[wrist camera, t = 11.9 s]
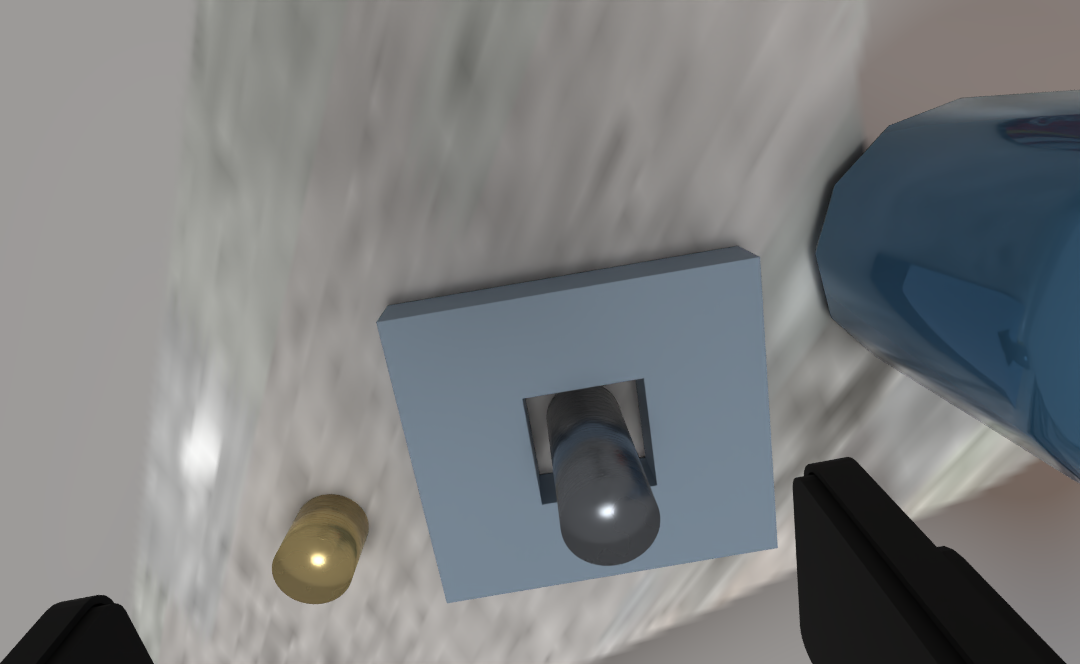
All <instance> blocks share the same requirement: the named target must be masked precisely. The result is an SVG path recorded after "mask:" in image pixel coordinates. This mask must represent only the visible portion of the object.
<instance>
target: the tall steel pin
mask: <svg viewBox="0 0 1080 664" xmlns="http://www.w3.org/2000/svg"><path fill="white" fill-rule="evenodd" d="M547 426H548V434H549V442H550V450H551V458H552V466H553V474H554V481H555V489H556V497H557V505H558V513H559V521H560V529H561V534H562V538H563V540H564V542H565V544H566V546H567V547H568V548H569V550H570V551H571V552H572V553H573V554H574V555H576V556H577V557H578V558H580V559H582V560H584V561H586V562H588V563H591V564H595V565H601V566H614V565H620V564H624V563H627V562H629V561H632V560H634V559H636V558H637V557H639V556H640V555H642V554H643V553H644V552H645V551H646V550H647V549H648V548H649V547H650V546H651V545H652V543H653V542H654V540H655V539H656V537H657V534H658V532H659V528H660V512H659V508H658V505H657V503H656V500H655V497H654V495H653V492H652V490H651V487H650V485H649V482H648V480H647V477H646V475H645V472H644V469H643V467H642V464H641V462H640V459H639V457H638V454H637V452H636V449H635V446H634V444H633V441H632V439H631V436H630V434H629V431H628V429H627V426H626V424H625V421H624V418H623V416H622V413H621V411H620V408H619V406H618V403H617V401H616V399H615V398H614V396H613V395H612V394H611V393H610V392H609V391H608V390H606V389H605V388H603V387H601V386H595V387H589V388H583V389H577V390H571V391H565V392H559V393H557V394H556V396H555V397H554V398H553V399H552V401H551V403H550V405H549V407H548V411H547Z"/></svg>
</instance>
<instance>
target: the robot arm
mask: <svg viewBox="0 0 1080 664" xmlns="http://www.w3.org/2000/svg"><path fill="white" fill-rule="evenodd" d="M793 502H794V521H795V539H796V558H797V577H798V595H799V614H800V629H801V635H802V639H803V642H804V646H805V648H806V651H807V653H808V656H809V658H810V660H811V662H812V663H813V664H1066V663H1065V662H1064V661H1063V660H1062V659H1061V658H1060V657H1059V656H1058V655H1057V654H1056V653H1055V652H1054V651H1053V650H1052V648H1050V646H1049V645H1048V644H1047V643H1046V642H1045V641H1044V640H1043V639H1042V638H1041V637H1040V636H1039V635H1038V634H1037V633H1036V632H1035V631H1034V630H1033V629H1032V628H1031V627H1030V626H1029V625H1028V624H1027V623H1026V622H1025V621H1024V620H1023V619H1022V618H1021V617H1020V616H1019V615H1018V614H1017V613H1016V612H1015V610H1013V608H1012V607H1011V606H1010V605H1009V604H1008V603H1007V602H1006V601H1005V600H1004V599H1003V598H1002V597H1001V596H1000V595H999V594H998V593H997V592H996V591H995V590H994V589H993V588H992V587H991V586H990V585H989V584H988V583H987V582H986V581H985V580H984V579H983V578H982V577H981V575H980V574H978V572H977V571H976V570H975V569H974V568H973V567H972V566H971V565H970V564H969V563H968V562H967V561H966V560H965V559H964V558H963V557H962V556H960V555H959V554H958V553H957V552H956V551H954V550H953V549H950V548H948V547H945V546H942V547H936V546H935V545H934V544H933V543H932V541H931V540H930V539H929V538H928V537H927V536H926V535H925V534H924V533H923V532H922V531H921V530H920V529H919V528H918V527H917V525H916V524H915V523H914V522H913V521H912V520H911V519H910V518H909V517H908V516H907V515H906V514H905V513H904V512H903V511H902V509H901V508H900V507H899V506H898V505H897V504H896V503H895V502H894V501H893V500H892V499H891V498H890V497H889V496H888V495H887V493H886V492H885V491H884V490H883V489H882V488H881V487H880V486H879V485H878V484H877V483H876V482H875V481H874V480H873V479H872V477H871V476H870V475H869V474H868V473H867V472H866V471H865V470H864V469H863V468H862V467H861V466H860V465H859V464H858V463H857V462H856V461H855V460H854V459H853V458H850V457H845V458H839V459H834V460H829V461H823V462H818V463H812V464H808V465H807V466H806V467H805V470H804V476H803V477H797V478H795V479H794V481H793ZM0 664H154V663H153V661H152V659H151V657H150V656H149V654H148V652H147V650H146V648H145V646H144V644H143V642H142V640H141V639H140V637H139V635H138V633H137V631H136V629H135V627H134V625H133V623H132V622H131V620H130V618H129V616H128V614H127V612H126V610H125V609H124V608H123V606H121V605H119V604H116V603H114V602H113V601H112V600H111V599H110V598H108V597H107V596H105V595H96V596H90V597H85V598H80V599H74V600H69V601H64V602H59V603H57V604H54V605H53V606H51V607H50V608H49V609H48V610H47V611H46V612H45V613H44V614H43V615H42V616H41V617H40V619H39V620H38V621H37V622H36V623H35V624H34V625H33V627H32V628H31V629H30V630H29V631H28V632H27V633H26V634H25V636H24V637H23V638H22V639H21V640H20V641H19V642H18V644H17V645H16V646H15V647H14V648H13V649H12V650H11V652H10V653H9V654H8V655H7V656H6V657H5V658H4V659H3V661H2V662H1V663H0Z"/></svg>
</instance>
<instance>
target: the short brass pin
mask: <svg viewBox="0 0 1080 664" xmlns="http://www.w3.org/2000/svg"><path fill="white" fill-rule="evenodd" d="M368 529H369V525H368V519H367V517H366V514H365V513H364V511H363V510H362V508H361V507H360V506H359V505H358V504H356V503H355V502H354V501H352V500H351V499H348V498H346V497H343V496H340V495H333V494H327V495H321V496H317V497H315V498H313V499H311V500H309V501H308V502H307V503H305V504H304V505H303V507H302V508H301V510H300V511H299V513H298V515H297V517H296V518H295V520H294V522H293V524H292V526H291V528H290V529H289V531H288V533H287V535H286V537H285V539H284V540H283V542H282V544H281V546H280V548H279V550H278V551H277V553H276V555H275V557H274V560H273V563H272V574H273V578H274V580H275V582H276V584H277V586H278V587H279V588H280V589H281V590H282V591H283V592H284V593H285V594H286V595H287V596H289V597H291V598H292V599H294V600H297V601H299V602H303V603H307V604H322V603H327V602H330V601H333V600H335V599H337V598H338V597H340V596H341V595H342V594H343V593H344V592H345V591H346V590H347V589H348V587H349V585H350V583H351V580H352V578H353V575H354V572H355V569H356V566H357V563H358V560H359V558H360V555H361V552H362V549H363V546H364V543H365V540H366V537H367V534H368Z"/></svg>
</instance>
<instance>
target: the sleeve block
mask: <svg viewBox="0 0 1080 664" xmlns="http://www.w3.org/2000/svg"><path fill="white" fill-rule="evenodd" d="M376 323H377V327H378V331H379V335H380V339H381V343H382V347H383V351H384V355H385V359H386V363H387V367H388V371H389V375H390V379H391V383H392V387H393V391H394V395H395V399H396V403H397V406H398V410H399V414H400V418H401V422H402V426H403V430H404V434H405V438H406V442H407V446H408V450H409V454H410V458H411V462H412V466H413V470H414V474H415V478H416V482H417V486H418V490H419V494H420V498H421V502H422V506H423V510H424V514H425V518H426V522H427V526H428V530H429V534H430V538H431V542H432V546H433V550H434V554H435V558H436V562H437V566H438V569H439V573H440V577H441V581H442V585H443V589H444V593H445V597H446V601H447V603H452V602H458V601H463V600H469V599H475V598H481V597H487V596H493V595H499V594H505V593H511V592H517V591H523V590H529V589H535V588H541V587H547V586H553V585H559V584H565V583H571V582H577V581H583V580H589V579H595V578H601V577H607V576H613V575H619V574H625V573H631V572H636V571H642V570H648V569H654V568H660V567H666V566H672V565H678V564H684V563H690V562H696V561H702V560H708V559H714V558H720V557H726V556H732V555H738V554H744V553H750V552H756V551H762V550H768V549H774V548H778V545H777V529H776V512H775V496H774V480H773V463H772V447H771V431H770V414H769V398H768V382H767V365H766V349H765V333H764V316H763V300H762V284H761V267H760V257H759V256H757V255H755V254H753V253H751V252H749V251H747V250H745V249H743V248H741V247H739V246H735V247H729V248H723V249H717V250H711V251H705V252H699V253H693V254H688V255H682V256H676V257H670V258H664V259H658V260H652V261H647V262H641V263H635V264H629V265H623V266H617V267H611V268H606V269H600V270H594V271H588V272H582V273H576V274H570V275H564V276H559V277H553V278H547V279H541V280H535V281H529V282H523V283H518V284H512V285H506V286H500V287H494V288H488V289H482V290H476V291H471V292H465V293H459V294H453V295H447V296H441V297H435V298H430V299H424V300H418V301H412V302H406V303H400V304H394V305H389V306H387V308H386V309H385V311H384V312H383V313H382V315H381V316H380V318H379V319H378V321H377V322H376ZM630 380H636V386H637V394H638V402H639V410H640V418H641V425H642V433H643V441H644V449H645V457H644V458H639V459H640V462H641V464H642V467H643V469H644V472H645V475H646V477H647V480H648V482H649V485H650V487H651V490H652V492H653V495H654V497H655V500H656V503H657V505H658V508H659V512H660V528H659V532H658V534H657V537H656V539H655V540H654V542H653V543H652V545H651V546H650V547H649V548H648V549H647V550H646V551H645V552H644V553H643V554H642V555H640V556H639V557H637V558H636V559H634V560H632V561H629V562H627V563H624V564H620V565H614V566H601V565H595V564H591V563H588V562H586V561H584V560H582V559H580V558H578V557H577V556H576V555H574V554H573V553H572V552H571V551H570V550H569V548H568V547H567V546H566V544H565V542H564V540H563V538H562V534H561V529H560V521H559V513H558V505H557V497H556V489H555V481H554V474H553V473H549V474H544V475H539V470H538V465H537V459H536V454H535V448H534V443H533V438H532V432H531V427H530V421H529V416H528V411H527V405H526V400H525V398H530V397H536V396H542V395H548V394H553V393H559V392H565V391H571V390H577V389H583V388H589V387H595V386H601V385H607V384H613V383H618V382H624V381H630Z"/></svg>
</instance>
